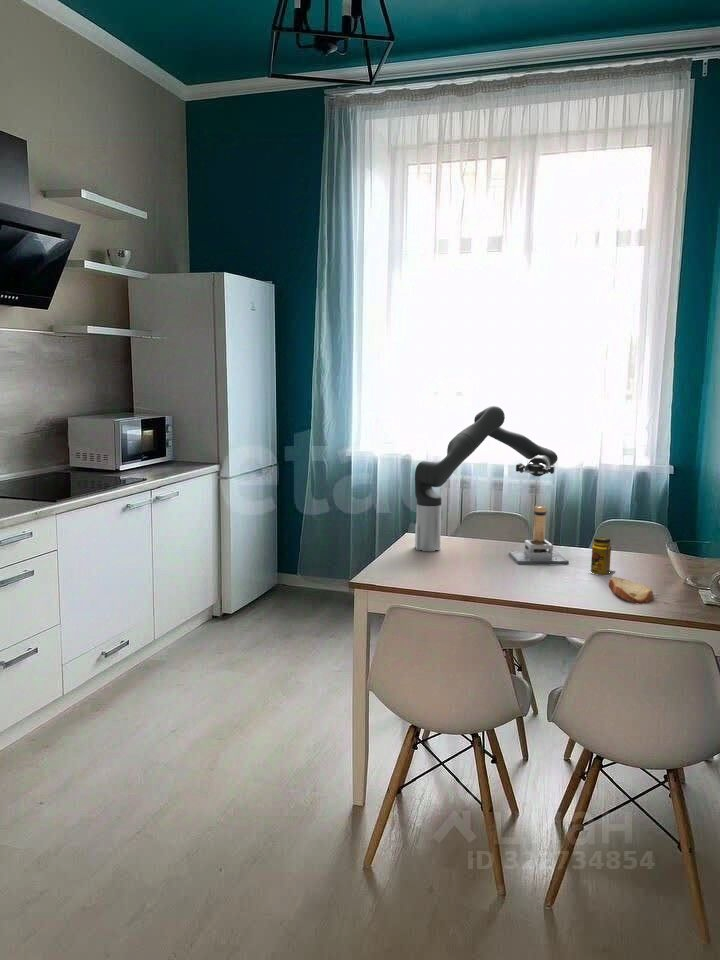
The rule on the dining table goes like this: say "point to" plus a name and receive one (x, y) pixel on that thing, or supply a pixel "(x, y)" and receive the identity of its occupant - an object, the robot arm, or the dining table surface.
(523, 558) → the grey socket base
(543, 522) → the wooden peg
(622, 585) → the slice of bread
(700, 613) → the dining table surface
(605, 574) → the condiment
